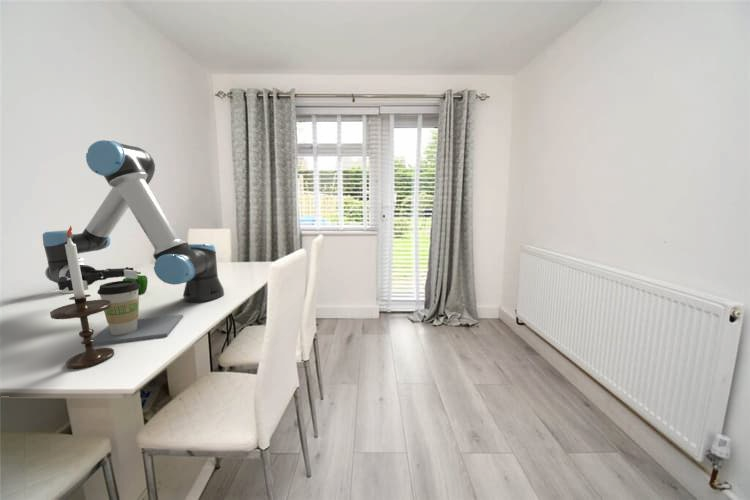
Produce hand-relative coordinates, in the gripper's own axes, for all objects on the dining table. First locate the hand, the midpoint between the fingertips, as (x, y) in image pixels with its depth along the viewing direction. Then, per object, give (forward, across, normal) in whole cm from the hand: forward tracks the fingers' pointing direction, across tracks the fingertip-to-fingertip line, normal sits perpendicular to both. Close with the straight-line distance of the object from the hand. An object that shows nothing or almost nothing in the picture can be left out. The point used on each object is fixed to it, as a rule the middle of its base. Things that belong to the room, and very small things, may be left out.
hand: (112, 279), depth 96 cm
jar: (-65, -13, -14) cm, 68 cm away
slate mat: (+12, 0, -16) cm, 19 cm away
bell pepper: (-32, -22, -15) cm, 42 cm away
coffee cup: (+10, +4, -15) cm, 18 cm away
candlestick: (+20, +16, -16) cm, 30 cm away
